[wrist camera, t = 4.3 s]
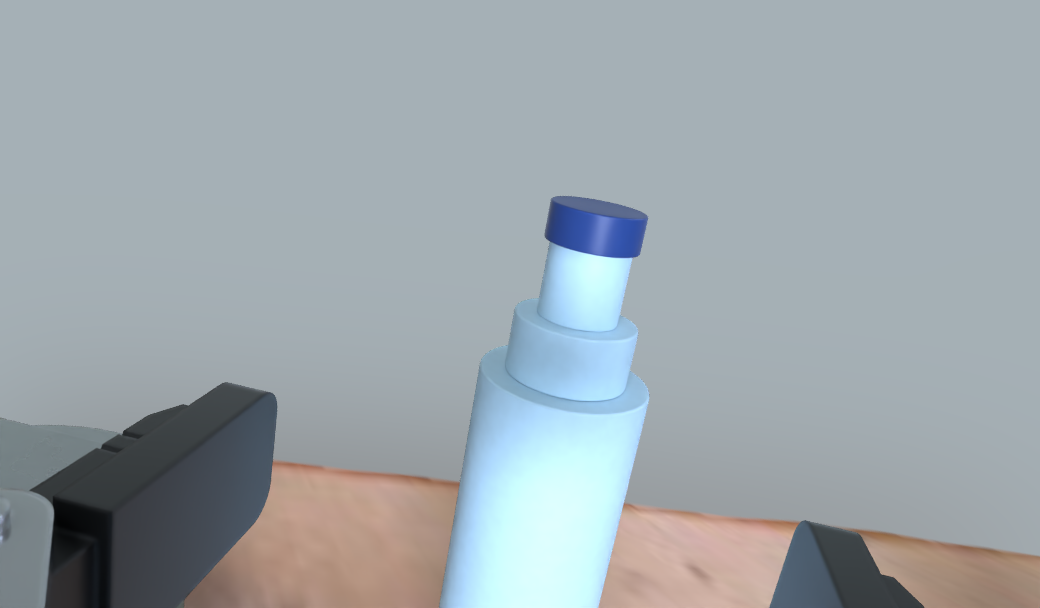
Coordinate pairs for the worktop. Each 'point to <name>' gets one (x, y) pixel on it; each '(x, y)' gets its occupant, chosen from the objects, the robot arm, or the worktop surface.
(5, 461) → the tin
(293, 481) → the worktop surface
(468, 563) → the bottle
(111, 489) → the robot arm
